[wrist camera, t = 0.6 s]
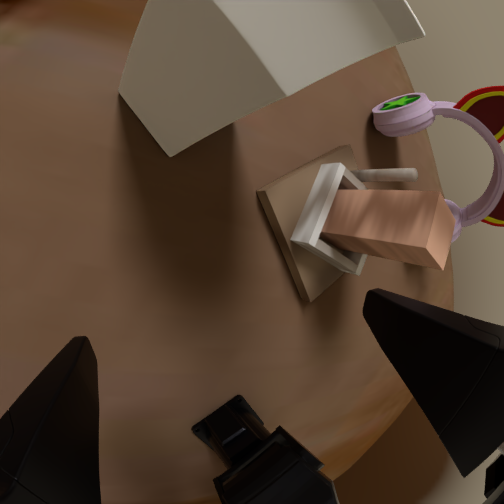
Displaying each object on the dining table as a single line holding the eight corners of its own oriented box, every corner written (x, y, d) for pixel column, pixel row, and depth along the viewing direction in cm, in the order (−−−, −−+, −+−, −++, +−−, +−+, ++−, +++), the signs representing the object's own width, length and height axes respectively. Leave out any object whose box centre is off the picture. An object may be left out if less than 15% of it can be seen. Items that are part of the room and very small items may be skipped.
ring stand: (368, 239, 34) (436, 250, 26) (301, 298, 30) (373, 328, 22) (339, 146, 30) (413, 137, 22) (256, 191, 25) (334, 188, 17)
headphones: (356, 118, 31) (517, 99, 14) (389, 94, 34) (517, 77, 17) (404, 244, 39) (529, 267, 22) (428, 207, 42) (536, 219, 25)
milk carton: (169, 158, 21) (389, 60, 5) (116, 91, 18) (219, -124, 2) (233, 111, 23) (445, 24, 7) (186, 50, 20) (349, -100, 4)
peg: (338, 248, 30) (443, 270, 19) (310, 230, 27) (425, 248, 17) (352, 211, 30) (455, 220, 20) (327, 189, 28) (439, 191, 17)
